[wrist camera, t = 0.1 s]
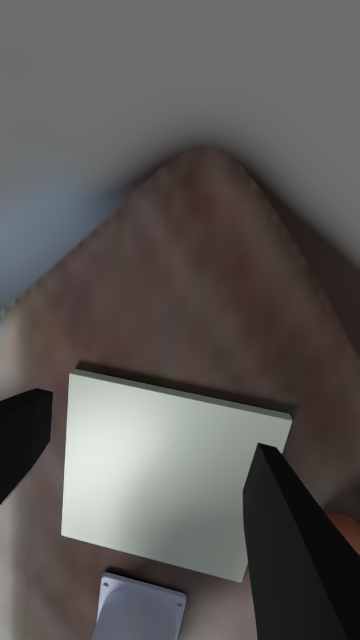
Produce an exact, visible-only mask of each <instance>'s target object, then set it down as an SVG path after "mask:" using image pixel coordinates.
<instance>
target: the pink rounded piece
mask: <svg viewBox="0 0 360 640" xmlns="http://www.w3.org/2000/svg"><path fill="white" fill-rule="evenodd" d="M326 515H327V516H328V518H329V519H330V520H331V521H332V523H333V524H334V525H335V526H336V528H337V529H338V530H339V531H340V533H341V534H342V535H343V536H344V537H345V539H346V540H347V541H348V542H349V543H350V545H351V546H352V547H353V548H354V550H355V551H356V552H357V553H358V554H359V555H360V523H359V522H358V521H357V520H355V519H354V518H352V517H349V516H347V515H344V514H339V513H326Z"/></svg>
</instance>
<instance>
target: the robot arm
mask: <svg viewBox="0 0 360 640" xmlns="http://www.w3.org/2000/svg"><path fill="white" fill-rule="evenodd" d="M52 400H53V392H50V391H46V390H42V389H38V388H36V389H33V390H29V391H27V392H24V393H21V394H18V395H15V396H13V397H10V398H7V399H5V400H2V401H0V505H1V504H2V502H3V501H4V500H5V499H6V498H7V497H8V495H9V494H10V493H11V492H12V491H13V490H14V488H15V487H16V486H17V485H18V484H19V482H20V481H21V480H22V479H23V478H24V477H25V475H26V474H27V473H28V472H29V471H30V469H31V468H32V467H33V465H34V464H35V462H36V461H37V459H38V458H39V457H40V455H41V454H42V452H43V450H44V449H45V447H46V446H47V444H48V443H49V441H50V432H51V416H52ZM243 526H244V535H245V543H246V550H247V558H248V566H249V573H250V581H251V588H252V596H253V603H254V611H255V618H256V627H257V637H258V640H360V555H359V554H358V553H357V552H356V551H355V550H354V548H353V547H352V546H351V545H350V543H349V542H348V541H347V540H346V539H345V537H344V536H343V535H342V534H341V533H340V531H339V530H338V529H337V528H336V526H335V525H334V524H333V523H332V521H331V520H330V519H329V518H328V516H327V515H326V514H325V513H324V511H323V510H322V509H321V507H320V506H319V505H318V503H317V502H316V501H315V499H314V498H313V497H312V495H311V494H310V493H309V491H308V490H307V489H306V487H305V486H304V485H303V483H302V482H301V480H300V479H299V478H298V476H297V475H296V473H295V472H294V471H293V469H292V468H291V466H290V465H289V464H288V462H287V461H286V459H285V458H284V457H283V455H282V454H281V453H280V451H279V450H278V449H277V447H274V446H270V445H266V444H262V443H258V444H257V447H256V450H255V453H254V456H253V459H252V463H251V466H250V469H249V472H248V475H247V478H246V482H245V485H244V488H243ZM185 605H186V595H185V594H184V593H181V592H178V591H174V590H170V589H167V588H163V587H159V586H156V585H152V584H148V583H145V582H141V581H137V580H134V579H130V578H126V577H123V576H119V575H116V574H112V573H108V572H106V573H104V574H103V576H102V580H101V589H100V597H99V606H98V615H97V624H96V627H95V630H94V633H93V637H92V640H177V638H178V634H179V630H180V625H181V621H182V617H183V613H184V609H185Z"/></svg>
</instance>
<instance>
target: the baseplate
mask: <svg viewBox="0 0 360 640" xmlns="http://www.w3.org/2000/svg"><path fill="white" fill-rule="evenodd" d="M291 424H292V419H291V416H290V414H287V413H283V412H278V411H273V410H268V409H264V408H259V407H254V406H249V405H245V404H240V403H235V402H231V401H226V400H221V399H216V398H212V397H207V396H202V395H197V394H193V393H188V392H183V391H178V390H174V389H169V388H164V387H159V386H155V385H150V384H145V383H140V382H136V381H131V380H126V379H121V378H117V377H112V376H107V375H102V374H98V373H93V372H88V371H83V370H79V369H74V370H73V371H72V372H71V373H70V375H69V395H68V415H67V434H66V454H65V473H64V493H63V512H62V532H61V535H63V536H66V537H70V538H74V539H78V540H81V541H85V542H89V543H93V544H96V545H100V546H104V547H108V548H111V549H115V550H119V551H123V552H127V553H130V554H134V555H138V556H142V557H145V558H149V559H153V560H157V561H160V562H164V563H168V564H172V565H175V566H179V567H183V568H187V569H190V570H194V571H198V572H202V573H205V574H209V575H213V576H217V577H220V578H224V579H228V580H232V581H236V582H239V583H241V582H242V579H243V576H244V573H245V570H246V567H247V563H248V558H247V550H246V543H245V535H244V526H243V488H244V485H245V482H246V478H247V475H248V472H249V469H250V466H251V463H252V459H253V456H254V453H255V450H256V447H257V444H258V443H262V444H266V445H270V446H274V447H277V449H278V450H279V451H280V453H281V454H282V452H283V449H284V446H285V443H286V440H287V437H288V433H289V430H290V427H291Z"/></svg>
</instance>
